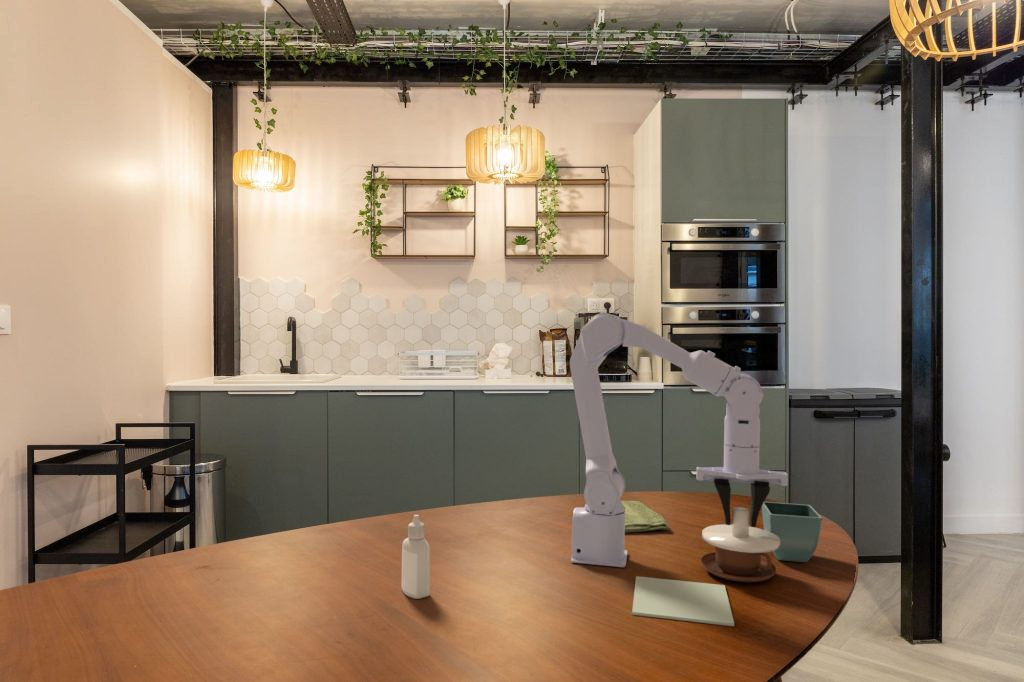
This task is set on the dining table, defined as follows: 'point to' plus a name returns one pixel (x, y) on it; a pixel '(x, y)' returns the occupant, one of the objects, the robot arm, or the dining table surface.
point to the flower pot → (793, 529)
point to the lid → (741, 535)
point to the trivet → (682, 601)
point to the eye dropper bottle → (416, 562)
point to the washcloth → (642, 518)
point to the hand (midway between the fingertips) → (740, 524)
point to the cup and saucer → (739, 565)
